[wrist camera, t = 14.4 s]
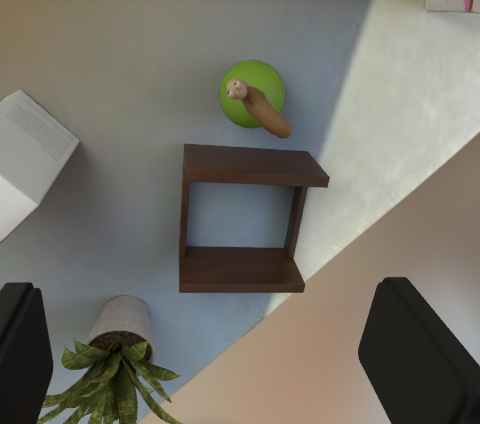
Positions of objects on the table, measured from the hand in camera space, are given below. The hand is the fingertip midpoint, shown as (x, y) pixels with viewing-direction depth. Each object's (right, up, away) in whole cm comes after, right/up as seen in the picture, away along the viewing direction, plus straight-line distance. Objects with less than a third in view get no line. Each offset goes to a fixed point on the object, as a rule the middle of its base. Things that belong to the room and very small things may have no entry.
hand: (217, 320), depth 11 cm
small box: (-18, +9, +25) cm, 32 cm away
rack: (+1, +4, +30) cm, 30 cm away
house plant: (-13, -8, +34) cm, 38 cm away
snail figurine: (+1, +14, +25) cm, 29 cm away
